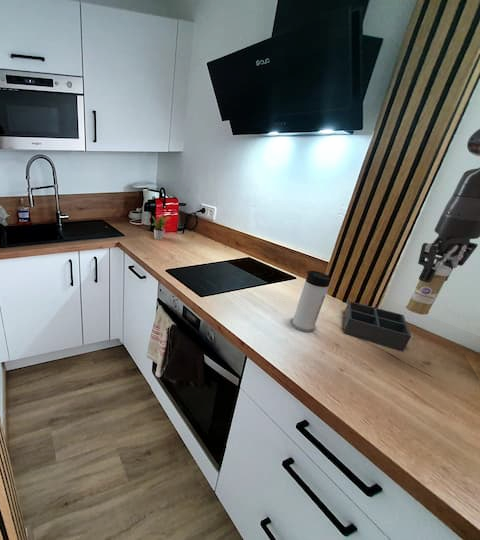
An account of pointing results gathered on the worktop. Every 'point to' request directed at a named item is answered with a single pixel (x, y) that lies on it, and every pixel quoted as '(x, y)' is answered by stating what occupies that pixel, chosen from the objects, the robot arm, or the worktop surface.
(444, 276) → the sprinkles bottle
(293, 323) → the travel mug
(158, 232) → the house plant
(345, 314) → the box
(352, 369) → the worktop surface
